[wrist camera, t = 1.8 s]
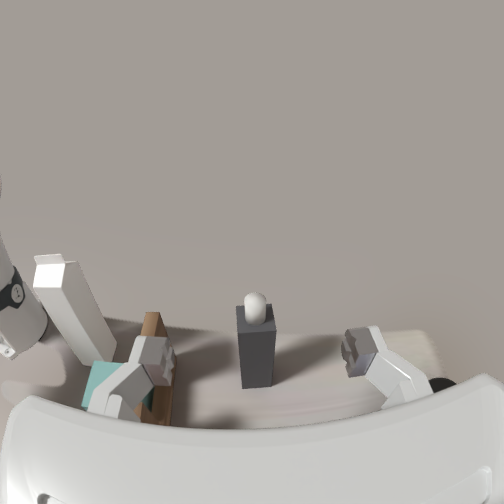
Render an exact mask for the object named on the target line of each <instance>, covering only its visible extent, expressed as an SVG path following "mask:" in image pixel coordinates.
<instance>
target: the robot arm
mask: <svg viewBox="0 0 504 504" xmlns="http://www.w3.org/2000/svg"><path fill="white" fill-rule="evenodd" d="M1 184H2V183H1V177H0V196H1V190H2V185H1ZM46 326H47V314H46V312H45V311H44V310H43V304H42V302H41V301H40V299H36V298H35V296H34V294H33V293H32V291H31V290H30V288H29V287H28V285H27V284H26V282H24V281H22V279H21V277H20V274H19V272H18V271H17V269H16V267H14V266H13V265H12V263H11V261H10V258H9V256H8V254H7V251H6V249H5V246H4V244H3V241H2V238H1V235H0V354H1V355H3V356H4V357H6V358H7V359H9V360H13V359H14V358H15V357H16V356H17V355H18V354H19V353H21V352H23V351H25V350H27V349H29V348H31V347H32V346H33V345H34V344H35V343H36V342H37V341H38V340H39V339H40V338H41V336H42V335H43V333H44V331H45V329H46ZM345 337H346V338H345V339H344V340H343V341H342V345H341V353H342V357H343V359H344V360H345V361H346V362H347V364H346V366H345V367H346V370H347V373H348V377H349V378H350V377H357V376H363V375H365V377H366V378H367V379H368V380H369V381H370V382H371V383H372V384H373V385H374V386H376V387H377V388H378V389H379V390H380V391H381V392H382V393H383V394H384V395H385V396H386V397H387V398H388V399H387V400H386V402H385V403H384V404H383V405H382V407H381V409H382V410H380V411H376V412H372V413H368V414H363V415H359V416H354V417H349V418H344V419H339V420H333V421H328V422H321V423H314V424H307V425H299V426H289V427H278V428H263V429H198V428H183V427H172V426H162V425H154V424H147V423H140V422H141V420H140V418H139V417H138V416H137V415H136V414H135V413H134V411H133V410H134V409H135V408H136V407H137V405H138V404H139V403H140V402H141V401H142V400H143V398H144V397H145V396H146V395H147V394H148V392H149V391H150V390H151V389H152V388H153V387H154V386H153V385H157V386H171V380H172V372H171V369H172V368H173V367H174V363H175V355H174V350H173V348H172V347H170V343H171V342H170V340H169V338H168V337H153V336H139V335H138V336H137V337H136V339H135V342H134V345H133V348H132V351H131V354H130V357H129V361H128V362H125V363H124V364H123V365H122V366H120V367H119V368H118V369H117V370H116V371H115V372H114V373H112V374H111V375H110V376H109V377H108V378H107V379H106V380H104V381H103V382H102V383H101V384H100V385H99V386H97V387H96V388H95V389H94V390H93V393H92V397H91V400H90V403H89V406H88V409H87V411H83V410H79V409H76V408H72V407H69V406H66V405H62V404H59V403H56V402H53V401H50V400H47V399H45V398H42V397H39V396H36V395H30V396H28V397H26V398H25V399H24V400H22V401H21V402H20V403H18V404H17V405H16V406H15V407H14V408H13V409H12V411H11V413H10V416H9V419H8V422H7V426H6V430H5V434H4V438H3V442H2V447H1V454H0V504H504V383H502V382H500V381H499V380H497V379H495V378H494V377H492V376H491V375H489V374H486V373H480V374H478V375H476V376H474V377H472V378H470V379H468V380H465V381H463V382H461V383H459V384H456V385H454V386H452V387H449V388H447V389H444V390H442V391H439V392H436V393H433V391H432V388H431V386H430V384H429V382H428V379H427V377H426V375H425V374H424V373H423V372H422V371H420V370H419V369H417V368H416V367H415V366H413V365H412V364H410V363H409V362H408V361H406V360H405V359H403V358H402V357H401V356H399V355H398V354H396V353H395V352H394V351H392V350H389V349H388V347H387V345H386V343H385V341H384V339H383V336H382V334H381V332H380V330H379V328H378V327H377V326H369V327H361V328H354V329H347V331H346V332H345Z"/></svg>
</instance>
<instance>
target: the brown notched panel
mask: <svg viewBox="0 0 504 504" xmlns="http://www.w3.org/2000/svg"><path fill="white" fill-rule="evenodd" d="M140 336H153V337H168V335H167V332H166V330H165V327H164V324H163V321H162V318H161V315H160V313H159V312H146V315H145V319H144V323H143V326H142V330H141V334H140ZM170 347H172V346H171V343H170ZM174 355H175V353H174ZM175 367H176V356H175V363H174V367H173V368H172V369H171V372H172V380H171V386H157V385H155V388H154V396H153V404H152V412H150V411H149V410H148V408H147V407H146V406H145V405H144V403H143V402H140V403H139V404H138V405H137V407H136V408H135V409H134V410H133V411H134V413H135V414H136V415H137V416H138V417H139V418H140V420H141V422H140V423H147V424H154V425H162V426H170V422H171V408H172V397H173V386H174V376H175Z"/></svg>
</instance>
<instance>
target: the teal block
mask: <svg viewBox="0 0 504 504" xmlns="http://www.w3.org/2000/svg"><path fill="white" fill-rule="evenodd" d="M123 364H124V363H113V362H103V361H94V362H93V365H92V369H91V372H90V375H89V379H88V382H87V386H86V389H85V393H84V397H83V401H82V405H81V406H82V407H83V408H84V409H85V410H86V411H87V409H88V406H89V403H90V400H91V397H92V393H93V390H94V389H95V388H96V387H97V386H99V385H100V384H101V383H102V382H103V381H104V380H106V379H107V378H108V377H109V376H110V375H111V374H112V373H114V372H115V371H116V370H117V369H118V368H119V367H120V366H122V365H123ZM153 386H154V385H153ZM154 388H155V386H154V387H153V388H152V389H151V390H150V391H149V392H148V394H147V395H146V396H145V397H144V398H143V400H142V401H141V402H143V403H144V405H145V406H146V407H147V408H148V410H149V411H150V412H152V404H153V396H154Z"/></svg>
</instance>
